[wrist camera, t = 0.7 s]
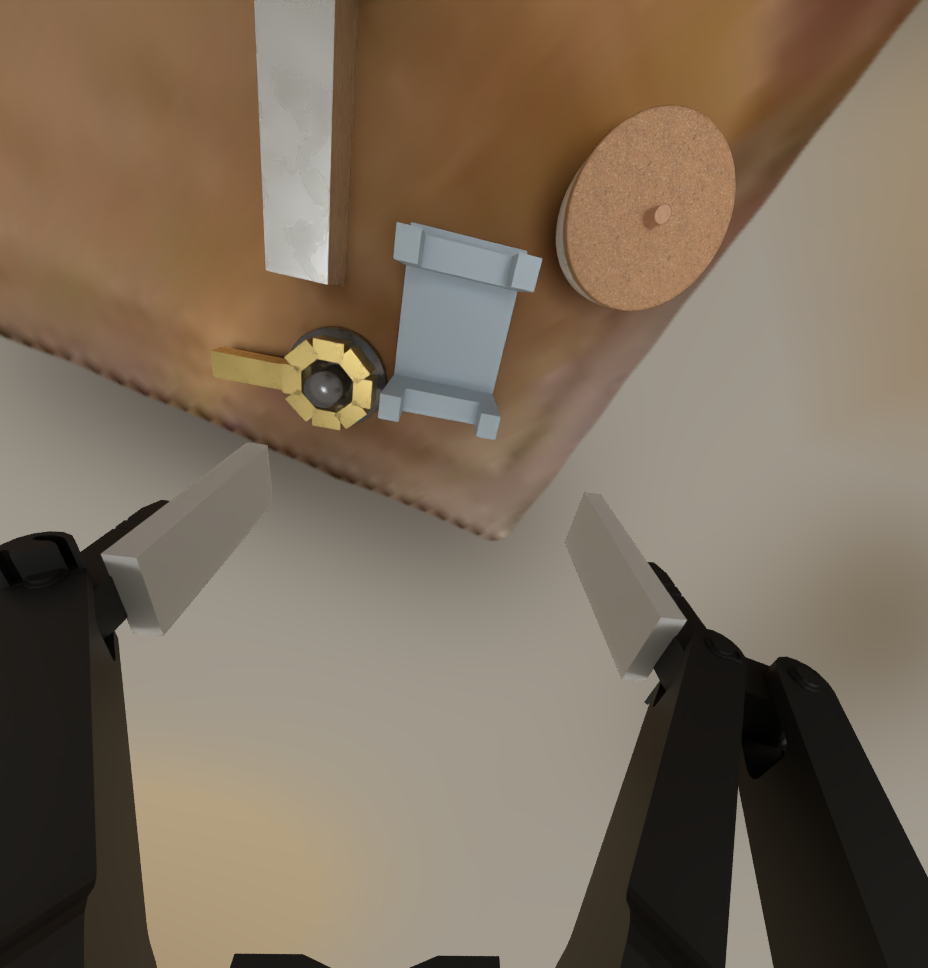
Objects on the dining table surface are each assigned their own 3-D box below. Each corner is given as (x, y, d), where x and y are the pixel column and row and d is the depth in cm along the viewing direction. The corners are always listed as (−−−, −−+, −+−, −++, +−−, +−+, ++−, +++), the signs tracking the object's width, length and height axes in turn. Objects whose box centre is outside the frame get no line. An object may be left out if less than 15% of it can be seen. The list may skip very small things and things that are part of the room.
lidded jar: (568, 330, 33) (605, 343, 25) (520, 202, 29) (546, 167, 20) (684, 264, 31) (768, 255, 23) (652, 115, 26) (742, 36, 18)
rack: (412, 223, 29) (398, 202, 22) (525, 251, 30) (547, 240, 23) (391, 402, 36) (376, 430, 29) (484, 420, 37) (492, 450, 30)
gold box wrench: (380, 346, 32) (374, 350, 30) (373, 425, 36) (367, 435, 34) (223, 313, 31) (204, 315, 28) (231, 400, 34) (215, 407, 32)
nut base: (290, 317, 32) (261, 321, 27) (391, 338, 33) (380, 346, 28) (292, 412, 36) (267, 431, 31) (382, 429, 37) (371, 450, 32)
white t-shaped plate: (262, -156, 21) (210, -277, 16) (387, -110, 21) (371, -213, 17) (275, 269, 30) (245, 265, 26) (361, 289, 31) (346, 288, 27)
